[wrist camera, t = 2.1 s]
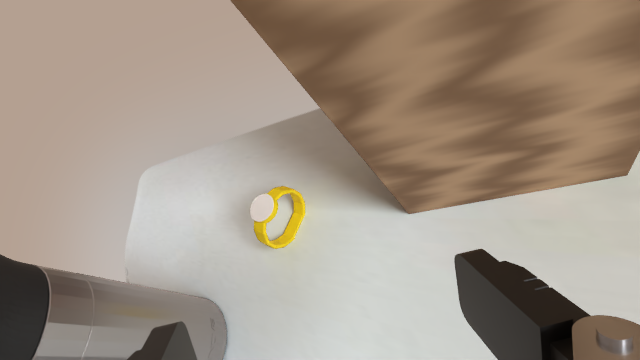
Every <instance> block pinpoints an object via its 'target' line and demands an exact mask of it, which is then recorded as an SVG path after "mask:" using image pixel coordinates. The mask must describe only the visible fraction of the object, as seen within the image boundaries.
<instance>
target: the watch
mask: <svg viewBox="0 0 640 360" xmlns="http://www.w3.org/2000/svg"><path fill="white" fill-rule="evenodd" d="M288 193H290V195H291V197H292V199H293V201H294V213H293V215H292V217H291V219H290V221H289V223H288V225H287V227H286V230H285V232H284V234H283V235H282V236H280V237H279V238H278V239H276V240H272V241H269V239H268V236H267V233H266V223H268V222H270V221H271V220H272V219H273V218H274V217H275V215H276V213H277V210H278V203H277V200H278V199H279V198H280V197H281V196H282V195H284V194H288ZM250 215H251V217H252V219H253V220H254V231H255V234H256V236H257V239H258V240H259V241H260V242H262V243H264V244H265V245H267V246H270V247H272V248H275V249H277V248H283V247H285V246H287V245H288V244H289V243H290V242H291V241H293V240H294V239H295V238H294V237H295V235H296V233H297V231H298V228H299V226H300V224H301V222H302V220H303V218H304V215H305V202H304V200H303V197H302V195H301V194H300V193H299V192H298V191H296V190H294V189H291V188H288V187H285V186H281V187H276V188H274V189H272V190H271V191H270V192H268V193H267V194H266V193H264V194H260V195H259V196H257V197H256V198H255V199H254V200H253V202H252V204H251V207H250Z"/></svg>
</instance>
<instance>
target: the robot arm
mask: <svg viewBox="0 0 640 360" xmlns="http://www.w3.org/2000/svg"><path fill="white" fill-rule="evenodd" d="M455 270H456V278H457V286H458V294H459V301H460V306H461V309H462V312H463V314H464V317H465V318H466V320H467V322H468V323H469V325H470V326H471V327H472V328H473V330H474V331H475V332H476V333H477V334H478V336H479V337H480V338H481V339H482V341H483V342H484V343H485V344H486V346H487V347H488V348H489V349H490V350H491V352H492V353H493V354H494V355H495V357H496V358H497V359H498V360H640V325H638V324H636V323H634V322H631V321H628V320H625V319H622V318H618V317H612V316H604V315H596V316H590V315H589V314H588V313H586V312H585V311H583V310H582V309H581V308H579V307H578V306H576V305H575V304H574V303H572V302H571V301H569V300H568V299H567V298H565V297H564V296H563V295H561V294H560V293H558V292H557V291H556V290H554V289H553V288H549V286H548V285H547V284H546V283H544V282H543V281H542V280H540V279H537V277H536V276H535V275H533V274H532V273H531V272H529V271H528V270H526V269H525V268H524V267H521V266H518V265H515V264H513V263H510V262H507V261H502V262H499V261H498V260H496V259H495V258H494V257H493V256H491V255H490V254H489V253H487V252H486V251H485V250H483V249H477V250H473V251H469V252H465V253H461V254H457V255H456V256H455ZM226 343H227V330H226V323H225V320H224V317H223V314H222V312H221V310H220V309H219V307H218V306H217V305H216V304H215V303H214V302H212V301H210V300H208V299H205V298H200V297H195V296H190V295H185V294H180V293H176V292H171V291H166V290H161V289H156V288H151V287H145V286H140V285H135V284H130V283H125V282H120V281H114V280H109V279H104V278H99V277H94V276H89V275H84V274H79V273H73V272H68V271H62V270H57V269H52V268H47V267H42V266H37V265H31V264H26V263H22V262H17V261H14V260H11V259H9V258H6V257H5V256H2V255H0V360H223V357H224V354H225V349H226Z"/></svg>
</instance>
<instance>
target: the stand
mask: <svg viewBox="0 0 640 360" xmlns="http://www.w3.org/2000/svg"><path fill="white" fill-rule="evenodd" d="M231 1H232V3H233V4H234V5H235V6H236V8H237V9H238V10H239V11H240V12H241V13H242V15H243V16H244V17H245V18H246V20H247V21H248V22H249V23H250V24H251V25H252V27H253V28H254V29H255V30H256V31H257V33H258V34H259V35H260V36H261V37H262V38H263V40H264V41H265V42H266V43H267V45H268V46H269V47H270V48H271V49H272V50H273V52H274V53H275V54H276V55H277V57H278V58H279V59H280V60H281V61H282V63H283V64H284V65H285V66H286V67H287V69H288V70H289V71H290V72H291V73H292V75H293V76H294V77H295V78H296V79H297V81H298V82H299V83H300V84H301V85H302V86H303V88H304V89H305V90H306V91H307V92H308V94H309V95H310V96H311V97H312V98H313V100H314V101H315V102H316V103H317V105H318V106H319V107H320V108H321V109H322V111H323V112H324V113H325V114H326V115H327V116H328V118H329V119H330V120H331V121H332V122H333V124H334V125H335V126H336V127H337V128H338V130H339V131H340V132H341V133H342V134H343V136H344V137H345V138H346V139H347V140H348V142H349V143H350V144H351V145H352V146H353V148H354V149H355V150H356V151H357V152H358V154H359V155H360V156H361V157H362V158H363V160H364V161H365V162H366V163H367V164H368V166H369V167H370V168H371V169H372V170H373V172H374V173H375V174H376V175H377V176H378V178H379V179H380V180H381V181H382V182H383V184H384V185H385V186H386V187H387V188H388V190H389V191H390V192H391V193H392V194H393V196H394V197H395V198H396V199H397V200H398V202H399V203H400V204H401V205H402V206H403V207H404V209H405V210H406V211H407V212H408V213H409V214H412V213H417V212H423V211H429V210H434V209H440V208H446V207H451V206H457V205H462V204H468V203H474V202H479V201H485V200H491V199H496V198H502V197H507V196H513V195H519V194H524V193H530V192H536V191H541V190H547V189H553V188H558V187H564V186H569V185H575V184H581V183H586V182H592V181H598V180H603V179H609V178H614V177H620V176H626V175H627V174H628V173H629V171H630V169H631V167H632V165H633V163H634V161H635V159H636V157H637V155H638V153H639V151H640V0H231Z"/></svg>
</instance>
